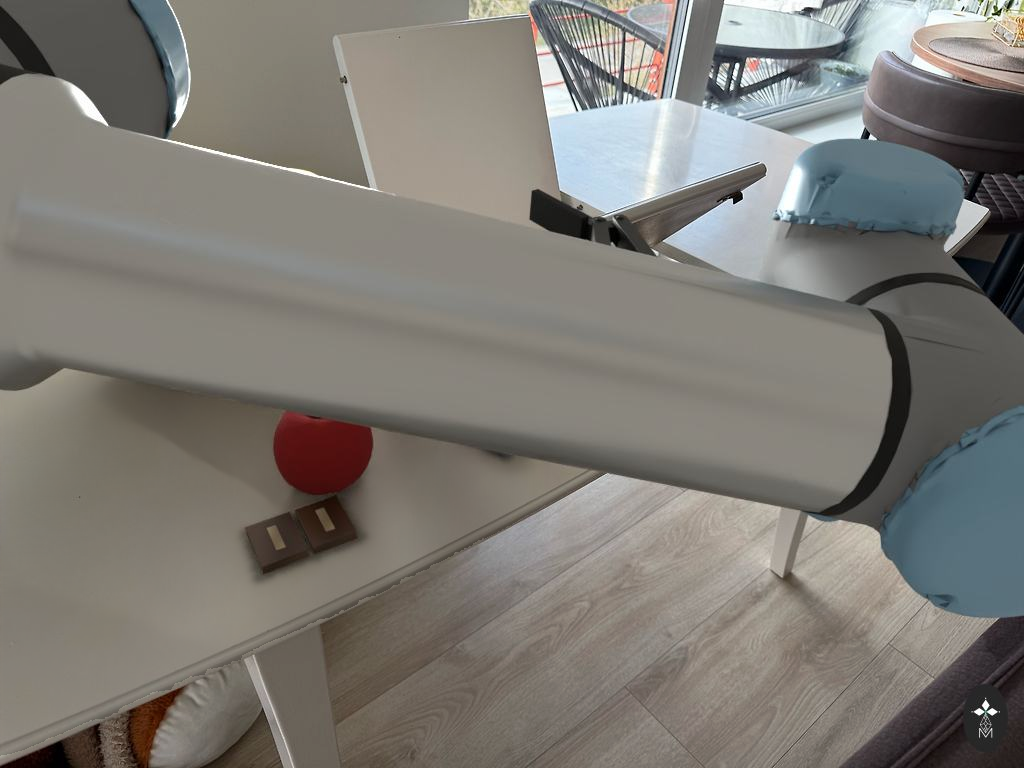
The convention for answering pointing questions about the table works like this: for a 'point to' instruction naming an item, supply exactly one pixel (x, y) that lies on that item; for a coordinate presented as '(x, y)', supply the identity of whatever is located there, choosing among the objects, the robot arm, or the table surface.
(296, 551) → the paired brown tiles
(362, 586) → the table surface
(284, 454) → the apple
